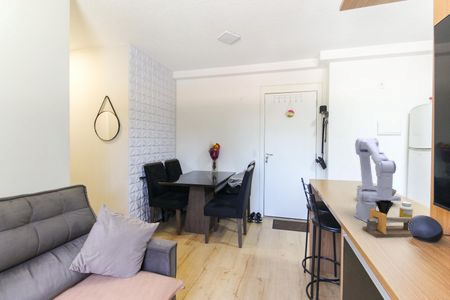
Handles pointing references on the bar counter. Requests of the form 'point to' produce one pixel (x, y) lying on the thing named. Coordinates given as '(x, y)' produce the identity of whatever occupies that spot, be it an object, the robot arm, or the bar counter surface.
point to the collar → (382, 219)
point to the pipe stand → (389, 227)
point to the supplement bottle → (406, 210)
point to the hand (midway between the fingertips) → (383, 216)
